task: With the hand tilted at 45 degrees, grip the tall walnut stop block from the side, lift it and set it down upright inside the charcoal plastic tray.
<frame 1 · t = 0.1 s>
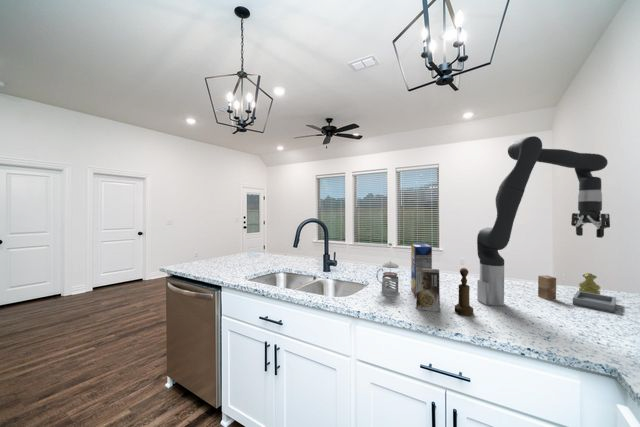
hand: (589, 236, 118), 29 cm above the worktop, tool pointing down, fingers open, 8 cm apart
brown chess piece: (463, 313, 106), on the worktop
french press: (388, 293, 131), on the worktop
coffee box: (427, 308, 111), on the worktop
juice carton: (420, 293, 130), on the worktop
stop block: (546, 298, 123), on the worktop
parts tray: (594, 304, 115), on the worktop
olive green lumpy figure: (589, 294, 129), on the worktop
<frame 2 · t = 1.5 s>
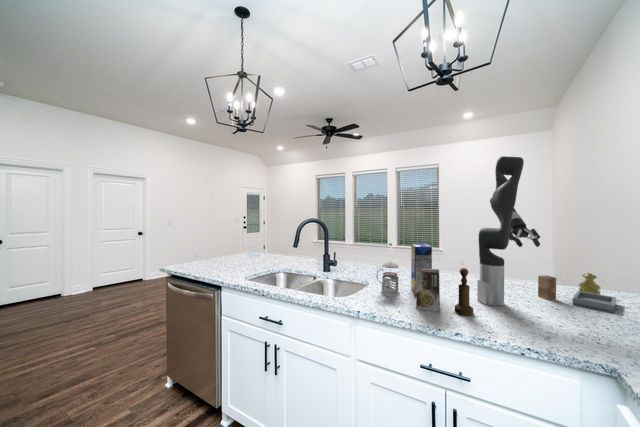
hand: (529, 246, 134), 23 cm above the worktop, tool tilted 45°, fingers open, 8 cm apart
nothing on the worktop moved.
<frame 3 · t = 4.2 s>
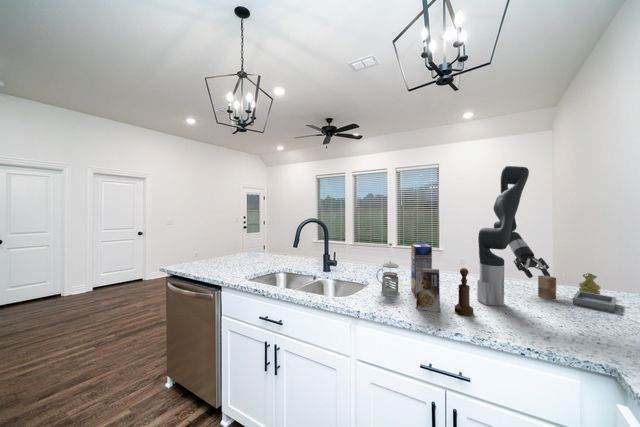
hand: (539, 277, 127), 9 cm above the worktop, tool tilted 45°, fingers open, 8 cm apart
nothing on the worktop moved.
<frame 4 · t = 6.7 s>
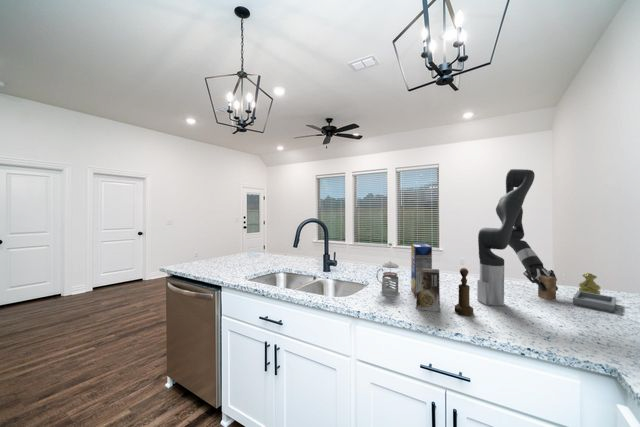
hand: (550, 290, 121), 4 cm above the worktop, tool tilted 45°, fingers closed on stop block, 4 cm apart
stop block: (546, 297, 123), on the worktop, touching gripper
everything else where it was.
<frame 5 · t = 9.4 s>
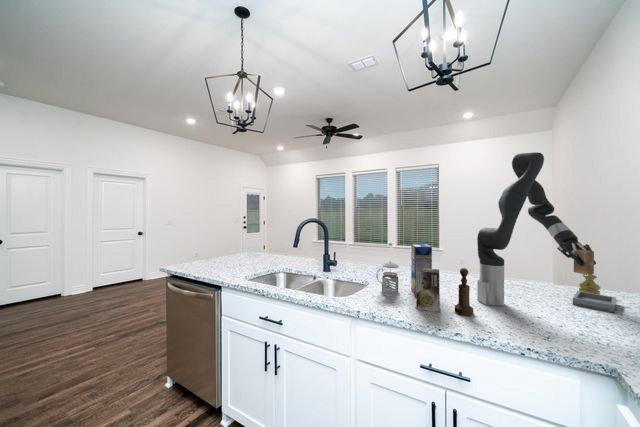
hand: (588, 264, 115), 17 cm above the worktop, tool tilted 45°, fingers closed on stop block, 4 cm apart
stop block: (583, 273, 117), point 13 cm above the worktop, touching gripper
everything else where it was.
when the fingers open (6 cm above the worktop, at t = 12.5 s): stop block drops 1 cm, resting on parts tray.
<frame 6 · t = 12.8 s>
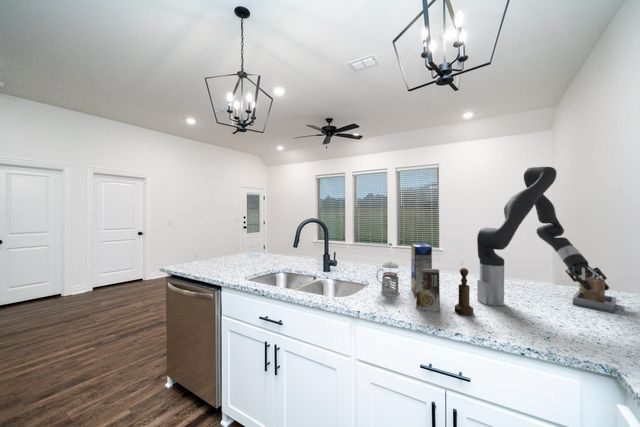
hand: (598, 289, 113), 7 cm above the worktop, tool tilted 45°, fingers open, 7 cm apart
stop block: (593, 302, 115), point 1 cm above the worktop, touching parts tray
everything else where it was.
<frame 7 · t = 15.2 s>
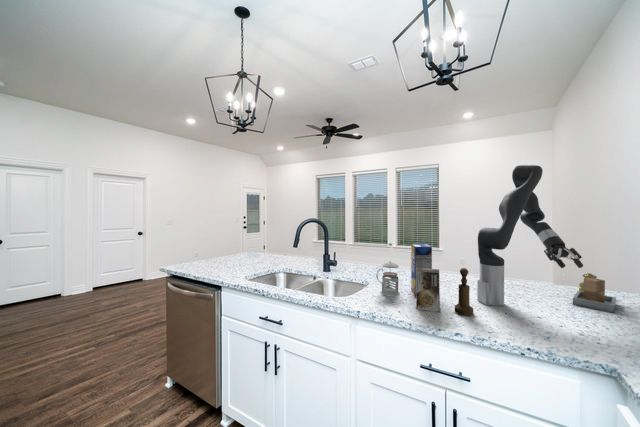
hand: (572, 267, 124), 14 cm above the worktop, tool tilted 45°, fingers open, 8 cm apart
nothing on the worktop moved.
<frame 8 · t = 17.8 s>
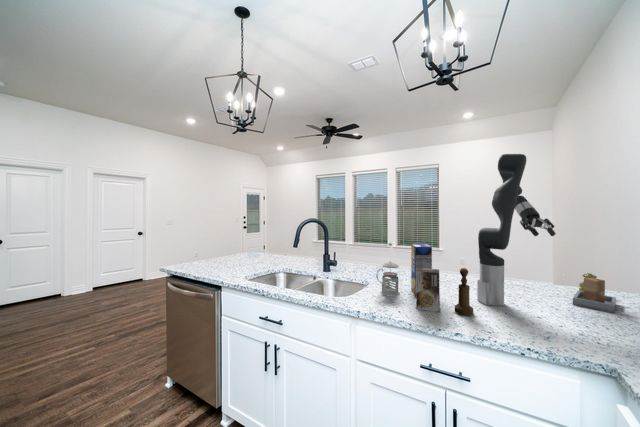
hand: (545, 235, 131), 29 cm above the worktop, tool tilted 45°, fingers open, 8 cm apart
nothing on the worktop moved.
at the end: stop block inside the target area on the parts tray (0.1 cm from its centre), point 1.0 cm above the parts tray's base; stop block tilted 0°; the gripper is holding nothing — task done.
